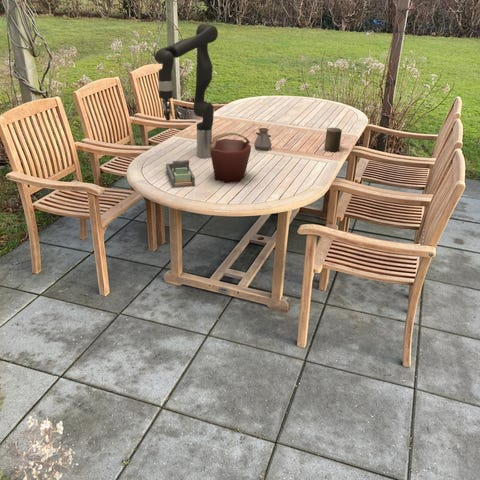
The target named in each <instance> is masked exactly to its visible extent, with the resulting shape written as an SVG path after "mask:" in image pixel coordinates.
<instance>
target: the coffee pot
mask: <svg viewBox="0 0 480 480" xmlns="http://www.w3.org/2000/svg"><path fill="white" fill-rule="evenodd" d="M257 130H258V131H259V132H257V131H256V132H254V133H253V135H255V134H256V138H255V141H254V147H255V148H256V149H257V150H258V151H268V150H269V149H270V148H272V146H273V144H272V141H271V139H270V136H269V134H268V132H269V131H270V130H269V129H268V128H267V127H260V128H258V129H257Z"/></svg>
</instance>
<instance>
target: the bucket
mask: <svg viewBox="0 0 480 480" xmlns="http://www.w3.org/2000/svg"><path fill="white" fill-rule="evenodd" d="M229 136H238V137H240V138H243V139H244V140H245V141H243V140H241V139H231V138H230V139H229V138H224V137H229ZM221 138H222V139H221ZM250 143H251V141H250V139H248V137H246V136H244V135H241V134H240V133H237V132H226V133H225V132H224V133H221V134H218V135H215V136H212V142H210V146H209V148H210V153H211V157H210V158H211V159H210V160H211V163H212V168H213V174H214V179H215V180H216V181H218V182H222V183H225V184H228V183H229V184H231V182H232V183H239V182H241V181H242V180H243V179H245V176H246V170H247V168H248V163H249V160H250V156H251V155H250V154H251V149H252V148H251V147H252V146H251V144H250Z"/></svg>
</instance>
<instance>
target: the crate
mask: <svg viewBox="0 0 480 480" xmlns="http://www.w3.org/2000/svg"><path fill="white" fill-rule="evenodd" d="M172 163H173V169H172V174H173V176H174V179H175V183H183V182H191V174H190V172H189V167H190V160H188V159H186V160H173V161H172ZM177 165H187V168H175V166H177Z"/></svg>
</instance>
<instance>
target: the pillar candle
mask: <svg viewBox="0 0 480 480" xmlns="http://www.w3.org/2000/svg"><path fill="white" fill-rule="evenodd" d="M341 138H342V128H339V127H328V128H327V127H326V133H325V139H324V140H325V141H324V151H326V152H328V151H329V153H338V152H340V147H341ZM337 151H338V152H337Z"/></svg>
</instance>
